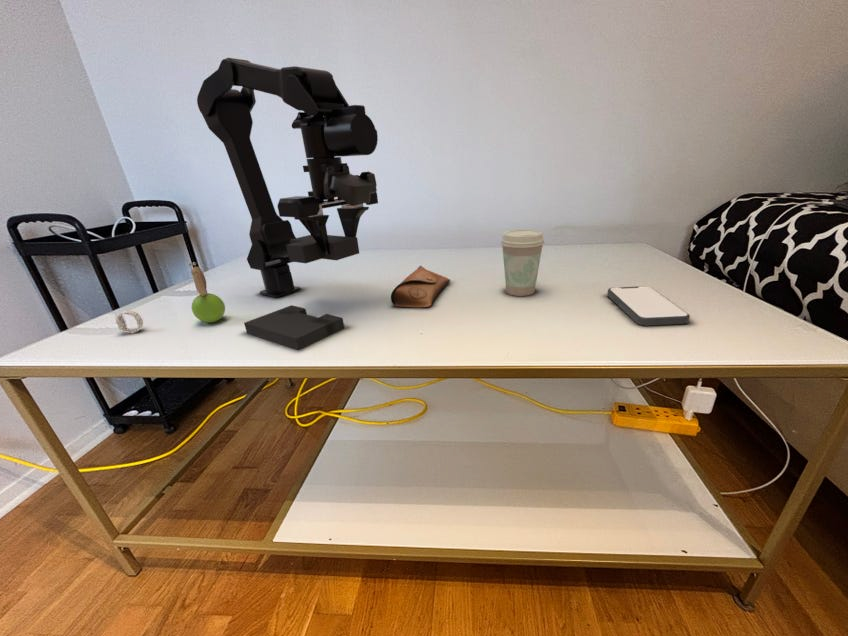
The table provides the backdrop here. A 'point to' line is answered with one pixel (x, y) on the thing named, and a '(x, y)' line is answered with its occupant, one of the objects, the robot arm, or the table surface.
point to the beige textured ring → (122, 324)
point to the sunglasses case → (418, 289)
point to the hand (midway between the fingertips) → (339, 250)
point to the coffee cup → (521, 260)
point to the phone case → (647, 306)
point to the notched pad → (294, 327)
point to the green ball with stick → (205, 299)
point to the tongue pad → (310, 251)
